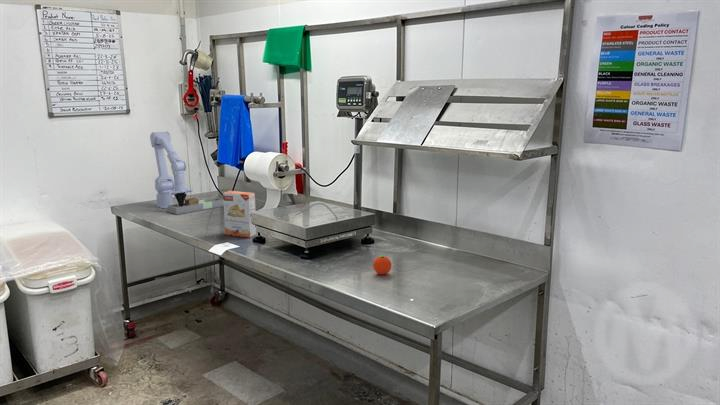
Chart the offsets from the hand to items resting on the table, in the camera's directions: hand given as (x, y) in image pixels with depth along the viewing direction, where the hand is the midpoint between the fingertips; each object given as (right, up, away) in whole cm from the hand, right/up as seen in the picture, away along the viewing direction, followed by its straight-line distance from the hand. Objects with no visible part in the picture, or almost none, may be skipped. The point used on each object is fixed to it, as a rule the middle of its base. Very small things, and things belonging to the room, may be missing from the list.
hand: (181, 206), depth 296 cm
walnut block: (+5, 0, +5) cm, 7 cm away
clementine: (+110, -25, -99) cm, 150 cm away
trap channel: (+7, -2, +8) cm, 11 cm away
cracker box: (+45, -14, -47) cm, 67 cm away
